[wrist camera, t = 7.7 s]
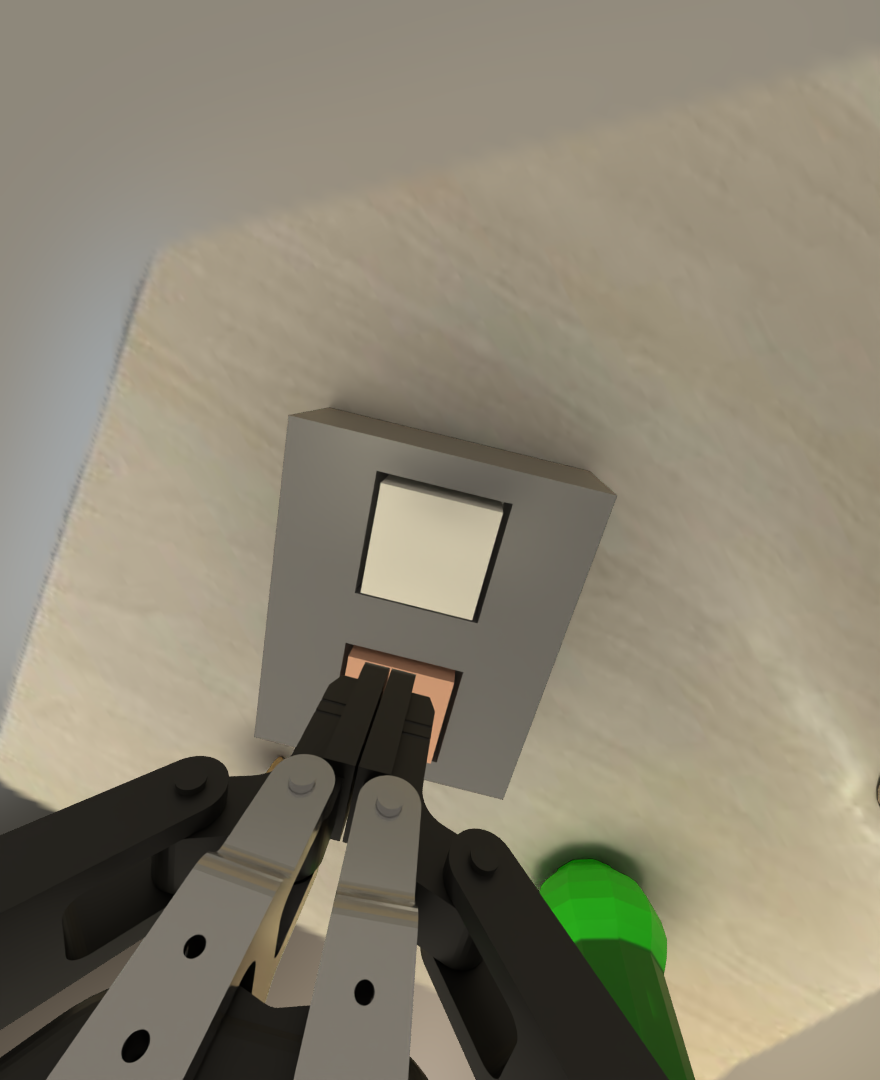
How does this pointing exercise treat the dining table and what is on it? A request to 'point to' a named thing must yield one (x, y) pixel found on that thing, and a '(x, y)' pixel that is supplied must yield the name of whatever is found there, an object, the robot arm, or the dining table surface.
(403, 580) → the white key
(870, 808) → the dining table surface
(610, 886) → the plastic bottle
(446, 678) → the terracotta key
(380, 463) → the block
